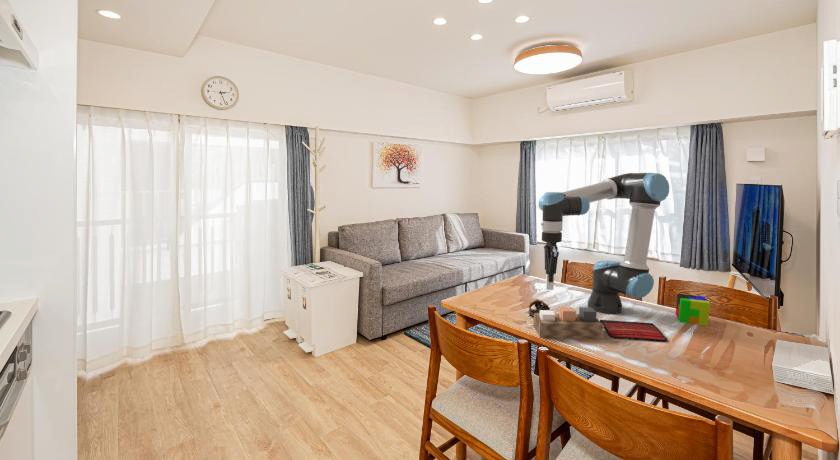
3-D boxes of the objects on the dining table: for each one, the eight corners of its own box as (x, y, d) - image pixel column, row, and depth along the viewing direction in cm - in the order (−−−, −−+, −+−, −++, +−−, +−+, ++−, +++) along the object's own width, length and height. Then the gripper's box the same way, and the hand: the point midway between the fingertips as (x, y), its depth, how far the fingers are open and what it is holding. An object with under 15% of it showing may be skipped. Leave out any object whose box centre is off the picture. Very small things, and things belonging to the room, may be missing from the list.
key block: (591, 327, 161) (592, 314, 160) (602, 339, 150) (602, 324, 149) (533, 326, 162) (534, 313, 161) (539, 337, 151) (540, 323, 151)
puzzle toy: (702, 318, 171) (704, 296, 170) (707, 326, 162) (710, 303, 161) (675, 314, 175) (677, 293, 174) (679, 322, 166) (681, 300, 165)
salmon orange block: (571, 321, 158) (571, 307, 157) (575, 325, 153) (576, 311, 152) (558, 320, 158) (559, 306, 157) (562, 325, 153) (563, 311, 152)
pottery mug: (555, 320, 170) (548, 306, 167) (535, 328, 172) (528, 314, 170) (548, 305, 181) (541, 291, 179) (529, 312, 183) (522, 299, 181)
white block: (551, 324, 158) (551, 310, 158) (554, 329, 154) (555, 314, 153) (539, 323, 159) (539, 310, 158) (541, 328, 154) (542, 314, 153)
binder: (599, 318, 165) (652, 322, 162) (599, 324, 166) (652, 327, 162) (610, 335, 150) (669, 339, 146) (610, 341, 150) (669, 345, 147)
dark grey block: (591, 321, 157) (591, 307, 156) (595, 326, 152) (596, 311, 151) (578, 321, 157) (579, 307, 157) (582, 325, 153) (583, 311, 152)
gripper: (538, 229, 157) (536, 284, 161) (546, 234, 144) (544, 294, 148) (556, 229, 157) (554, 284, 160) (566, 234, 144) (563, 294, 147)
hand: (549, 289), depth 154 cm, fingers closed
